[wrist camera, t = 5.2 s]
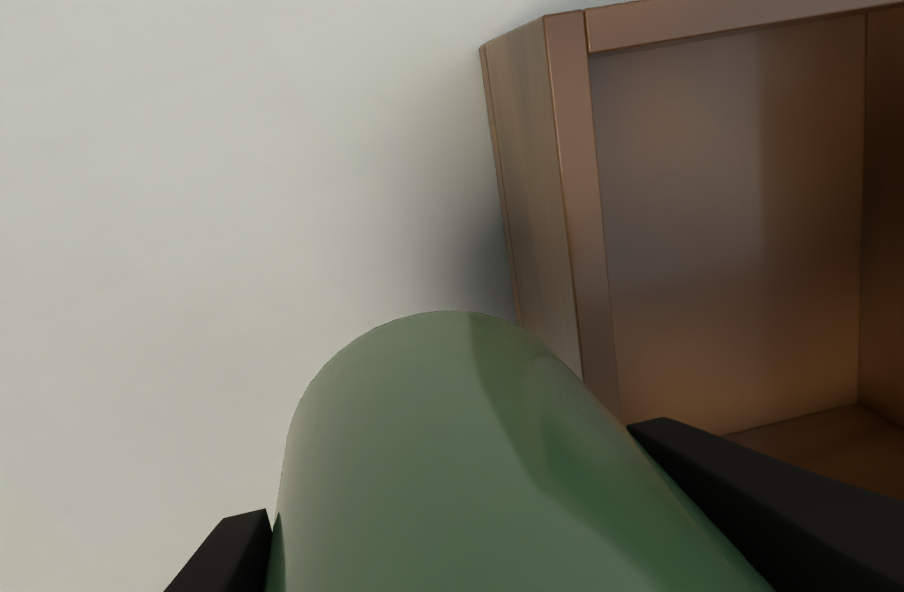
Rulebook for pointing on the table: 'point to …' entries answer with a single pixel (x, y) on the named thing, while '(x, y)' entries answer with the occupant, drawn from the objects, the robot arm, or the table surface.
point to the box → (716, 217)
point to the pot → (479, 477)
